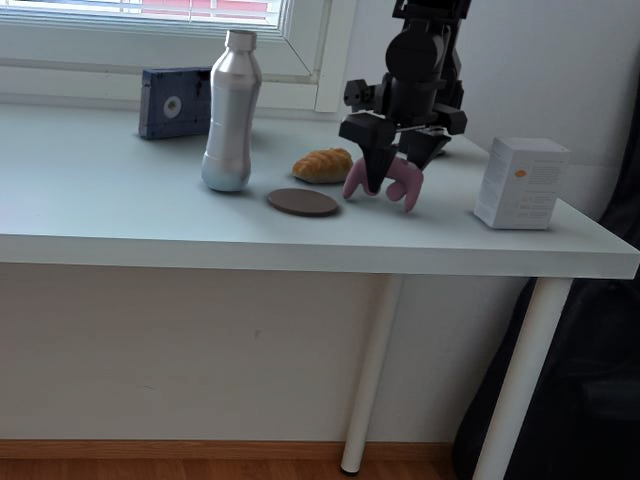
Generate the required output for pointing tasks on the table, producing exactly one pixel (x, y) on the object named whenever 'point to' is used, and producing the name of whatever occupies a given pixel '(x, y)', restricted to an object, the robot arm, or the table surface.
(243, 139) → the plastic bottle
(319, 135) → the table surface
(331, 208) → the walnut coaster
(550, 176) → the small box
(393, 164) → the video game controller
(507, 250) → the table surface
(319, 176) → the pastry
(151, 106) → the vhs cassette tape
